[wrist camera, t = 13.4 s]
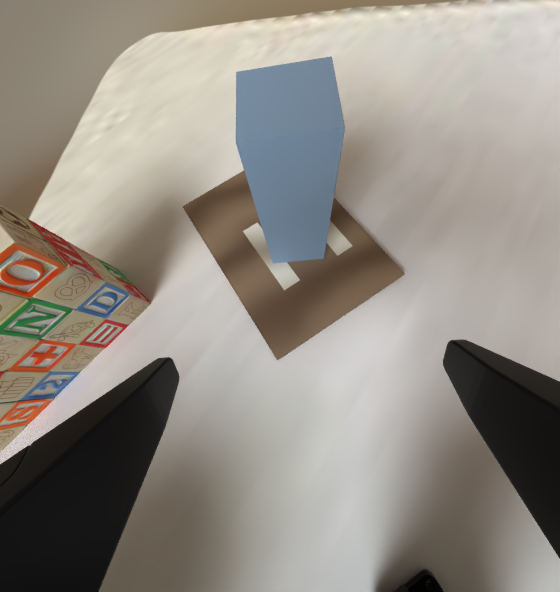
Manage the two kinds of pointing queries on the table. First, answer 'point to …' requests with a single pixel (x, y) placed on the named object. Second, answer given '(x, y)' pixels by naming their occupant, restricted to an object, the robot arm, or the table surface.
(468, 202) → the table surface
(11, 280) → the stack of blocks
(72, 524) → the robot arm
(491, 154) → the table surface
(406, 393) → the table surface
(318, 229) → the blue pillar
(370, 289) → the letter board
